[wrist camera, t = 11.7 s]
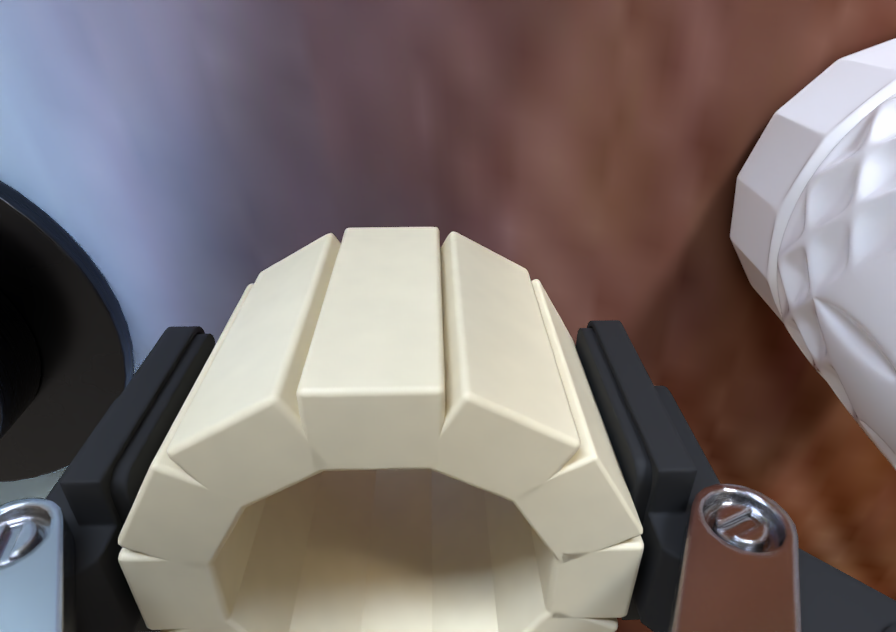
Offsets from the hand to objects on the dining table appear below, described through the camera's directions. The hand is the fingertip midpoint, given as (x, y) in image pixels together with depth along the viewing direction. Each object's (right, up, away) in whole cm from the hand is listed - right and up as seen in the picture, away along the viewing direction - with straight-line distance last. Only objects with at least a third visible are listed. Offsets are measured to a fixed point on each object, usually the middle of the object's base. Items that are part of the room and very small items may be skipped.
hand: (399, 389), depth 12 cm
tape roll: (0, 0, 0) cm, 0 cm away
